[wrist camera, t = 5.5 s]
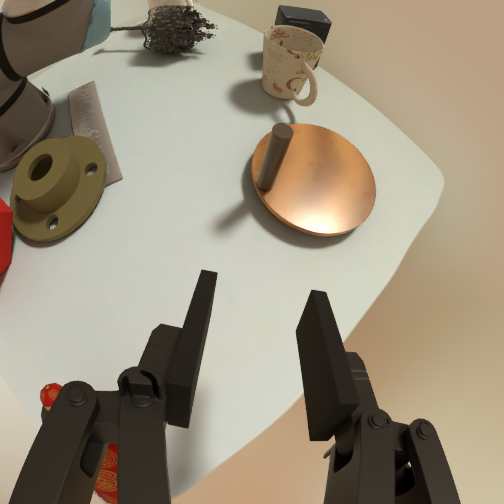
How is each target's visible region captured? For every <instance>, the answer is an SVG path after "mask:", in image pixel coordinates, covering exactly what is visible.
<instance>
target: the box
mask: <svg viewBox="0 0 504 504" xmlns="http://www.w3.org/2000/svg"><path fill="white" fill-rule="evenodd" d="M331 24H332V22H331V21H330V20H329V19H328V18H327V16H326V15H325V14H324V13H323V12H322V11H319V10H312V9H306V8H299V7H291V6H282V5H279V7H278V12H277V16H276V21H275V26H277V25H288V26H294V27H298V28H302V29H305V30H307V31H309V32H311V33H313V34H315V35H316V36H318V37H319V38H320V39H321V40H322V42H323V43H324V44H325V41H326V38H327V35H328V33H329V30H330V27H331ZM319 59H320V57H319ZM319 59H318V61H317V63H316V64H315V66H314V67H315V68H316V67H317V64H318V62H319Z"/></svg>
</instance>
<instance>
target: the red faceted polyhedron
mask: <svg viewBox="0 0 504 504" xmlns="http://www.w3.org/2000/svg"><path fill="white" fill-rule="evenodd" d="M12 223H13V211H12V210H11V209H10V208H9V207H8V206H7V205H6V203H5V202H4V201H3V200H2V199H1V198H0V275H1V274H2V273H3V272H4V271H5V269H6V268H7V267H8V266H9V265H10V263H11V242H12Z"/></svg>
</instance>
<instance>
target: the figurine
mask: <svg viewBox="0 0 504 504" xmlns="http://www.w3.org/2000/svg"><path fill="white" fill-rule="evenodd" d="M61 388H62V386H61V385H59V384H56V383H52V384H48V385H46V386H45V387H44V388H43V389H42V390H41V393H40V399H41V402H42V404H43V407H42V412H41V418H42V423H43V422H44V420H45V418H46V416H47V414H48V412H49V410H50V408H51V406H52V404H53V402H54V400H55V398H56V397H57V395H58V393H59V391H60V389H61ZM117 449H118V444H113V443H109V445H108V448H107V451H106V454H105V457H104V460H103V463H102V466H101V469H100V472H99V475H98V478H97V482H96V485H95V488H94V490H95V492H96V493H97V494H98V495H99V496H100V497H101V498H102V499H104V500H105V501H106V502H107V503H110V504H118V500H117Z"/></svg>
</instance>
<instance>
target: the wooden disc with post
mask: <svg viewBox="0 0 504 504" xmlns="http://www.w3.org/2000/svg"><path fill="white" fill-rule="evenodd" d="M251 175H252V180H253V184H254V187H255V190H256V192H257V194H258V196H259V197H260V199H261V200H262V202H263V203H264V205H265V206H266V207H267V208H268V209H269V211H270V212H271V213H272V214H274V215H275V216H276V217H277V218H278V219H279V220H281V221H282V222H284V223H285V224H287V225H289V226H290V227H292V228H294V229H296V230H299V231H301V232H304V233H308V234H311V235H317V236H336V235H341V234H345V233H347V232H349V231H352V230H353V229H355V228H356V227H358V226H359V225H360V224H361V223H362V222H364V221H365V220H366V218H367V217H368V216H369V214H370V213H371V211H372V209H373V206H374V203H375V197H376V186H375V180H374V176H373V173H372V171H371V168H370V166H369V165H368V163H367V161H366V160H365V158H364V157H363V155H362V154H361V153H360V152H359V150H358V149H357V148H356V147H355V146H354V145H353V144H351V143H350V142H349V141H348V140H346V139H345V138H344V137H342V136H341V135H339V134H337V133H335V132H333V131H331V130H329V129H326V128H323V127H320V126H316V125H311V124H290V125H287V124H284V123H278V124H276V125H274V126H273V128H272V131H271V132H270V133H268V134H267V135H266V136H265V137H264V138H263V139H262V140H261V141H260V142H259V144H258V145H257V147H256V149H255V151H254V155H253V158H252V165H251Z"/></svg>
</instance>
